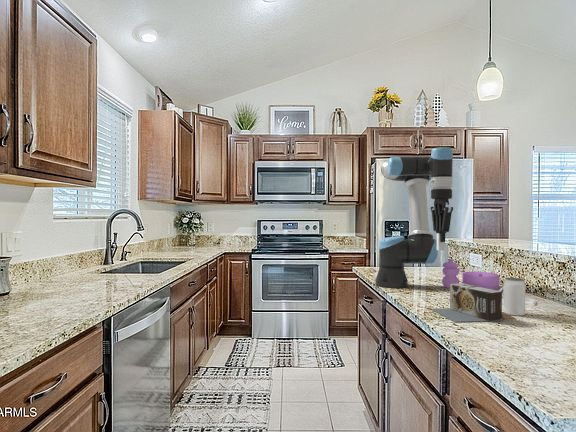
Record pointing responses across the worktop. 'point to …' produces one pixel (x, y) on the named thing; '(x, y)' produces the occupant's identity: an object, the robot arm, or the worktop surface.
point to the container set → (469, 277)
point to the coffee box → (476, 301)
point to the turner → (507, 316)
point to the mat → (460, 316)
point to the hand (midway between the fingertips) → (440, 250)
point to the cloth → (527, 301)
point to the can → (514, 297)
